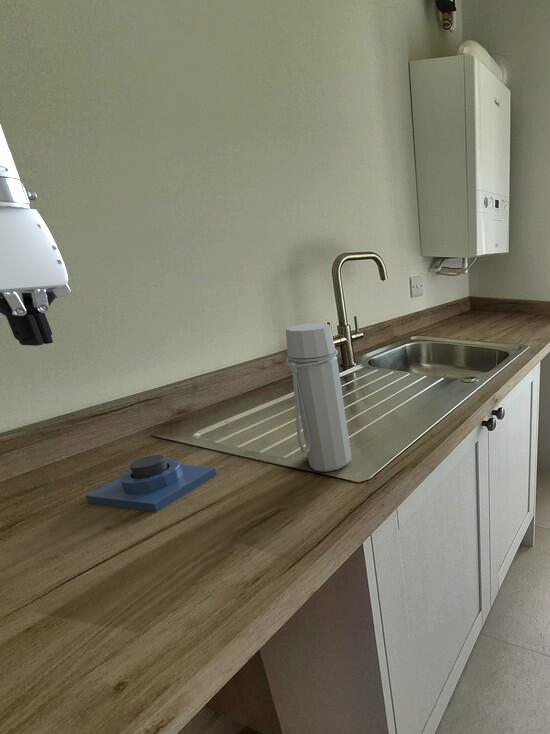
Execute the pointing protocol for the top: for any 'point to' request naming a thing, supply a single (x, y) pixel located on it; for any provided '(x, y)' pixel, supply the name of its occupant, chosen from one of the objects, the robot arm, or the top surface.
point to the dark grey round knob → (148, 466)
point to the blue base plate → (152, 488)
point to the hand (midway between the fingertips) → (37, 343)
